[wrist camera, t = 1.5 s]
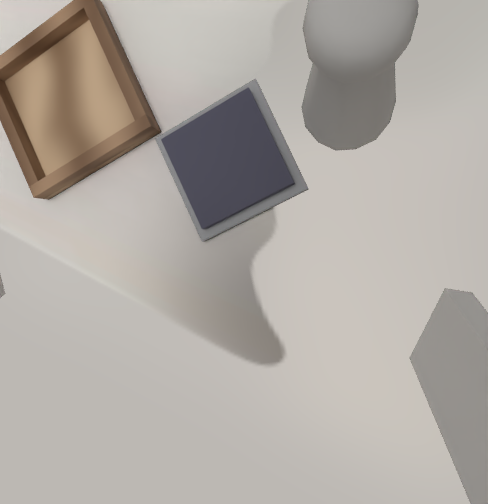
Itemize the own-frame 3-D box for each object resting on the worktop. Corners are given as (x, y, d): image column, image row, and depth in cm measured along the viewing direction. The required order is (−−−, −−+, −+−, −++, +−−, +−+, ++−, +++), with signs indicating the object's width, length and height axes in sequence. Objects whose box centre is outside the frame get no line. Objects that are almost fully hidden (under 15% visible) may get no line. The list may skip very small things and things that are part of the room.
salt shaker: (396, 145, 25) (463, 56, 12) (313, 166, 26) (299, 105, 14) (378, 63, 25) (428, -110, 12) (297, 88, 26) (268, -45, 14)
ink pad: (257, 81, 27) (253, 73, 26) (308, 189, 27) (307, 186, 25) (158, 140, 29) (149, 135, 28) (204, 241, 29) (197, 241, 27)
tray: (101, 2, 30) (88, -12, 28) (161, 132, 29) (151, 125, 27) (-3, 79, 32) (-21, 71, 31) (49, 199, 32) (33, 197, 30)
